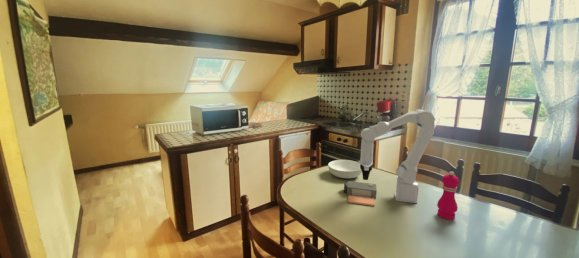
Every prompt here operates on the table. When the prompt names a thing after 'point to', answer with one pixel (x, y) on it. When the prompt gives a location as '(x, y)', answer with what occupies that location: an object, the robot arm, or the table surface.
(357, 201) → the side door
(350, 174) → the serving bowl
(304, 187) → the table surface
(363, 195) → the camera housing
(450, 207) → the pepper mill
